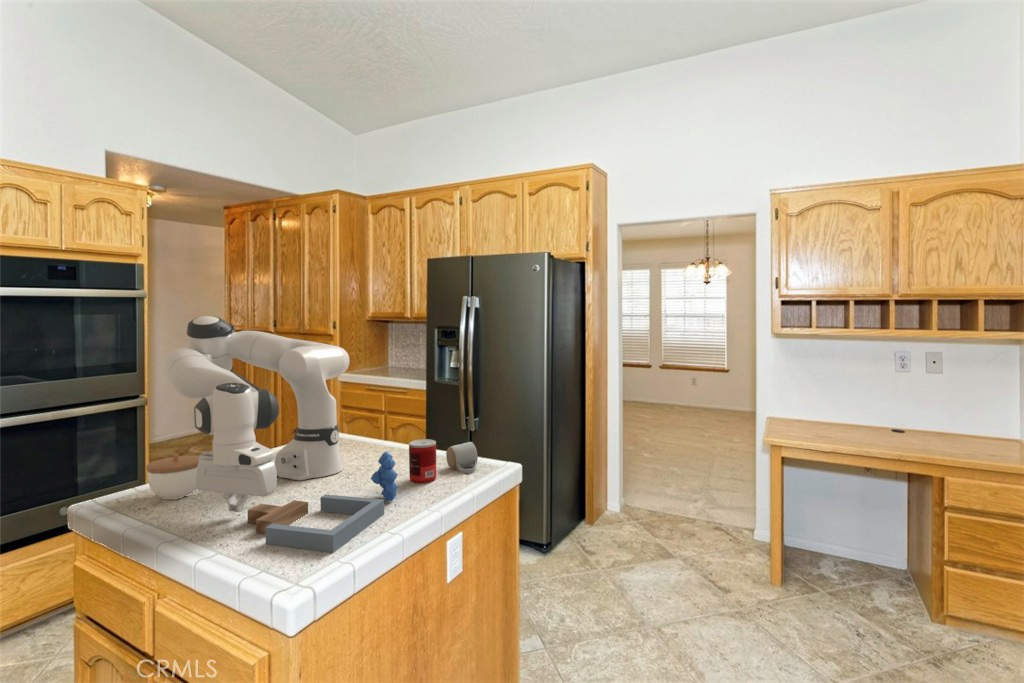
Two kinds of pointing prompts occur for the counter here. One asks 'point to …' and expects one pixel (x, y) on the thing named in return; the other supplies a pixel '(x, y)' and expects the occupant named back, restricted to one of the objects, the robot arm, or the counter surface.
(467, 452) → the ceramic mug
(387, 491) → the grapes
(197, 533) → the counter surface
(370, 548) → the counter surface
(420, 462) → the canned food
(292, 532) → the bay
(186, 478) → the lidded bowl
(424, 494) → the counter surface
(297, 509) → the t block
